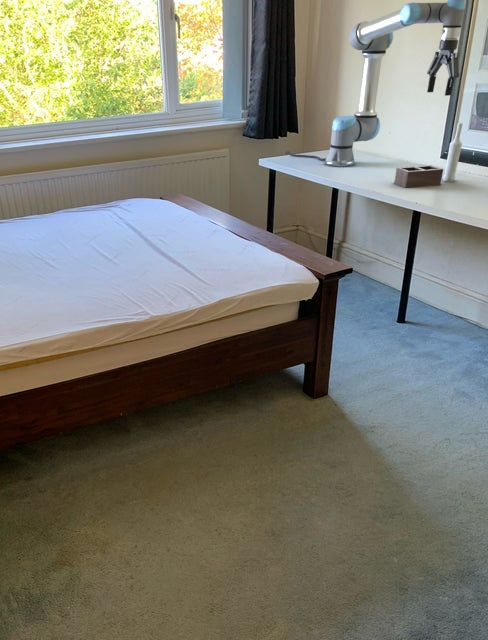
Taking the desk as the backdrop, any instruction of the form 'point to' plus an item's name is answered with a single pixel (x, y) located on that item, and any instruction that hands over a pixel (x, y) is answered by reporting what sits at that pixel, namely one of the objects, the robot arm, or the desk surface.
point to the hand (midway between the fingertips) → (438, 93)
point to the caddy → (418, 176)
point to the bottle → (453, 156)
